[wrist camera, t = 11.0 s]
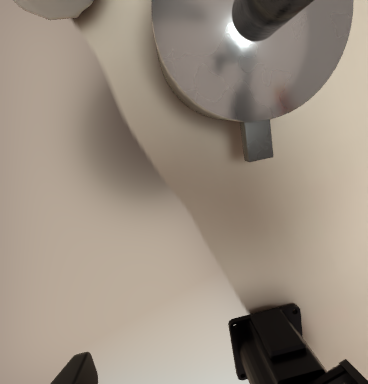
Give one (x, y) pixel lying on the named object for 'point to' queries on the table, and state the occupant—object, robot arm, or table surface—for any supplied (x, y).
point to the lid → (250, 52)
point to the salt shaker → (54, 8)
